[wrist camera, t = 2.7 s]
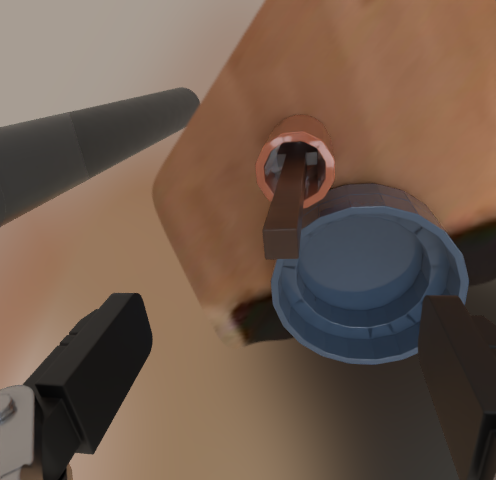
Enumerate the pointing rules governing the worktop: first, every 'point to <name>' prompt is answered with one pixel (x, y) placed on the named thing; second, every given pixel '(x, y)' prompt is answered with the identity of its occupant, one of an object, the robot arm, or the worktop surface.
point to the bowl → (365, 274)
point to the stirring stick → (288, 201)
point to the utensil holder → (316, 175)
